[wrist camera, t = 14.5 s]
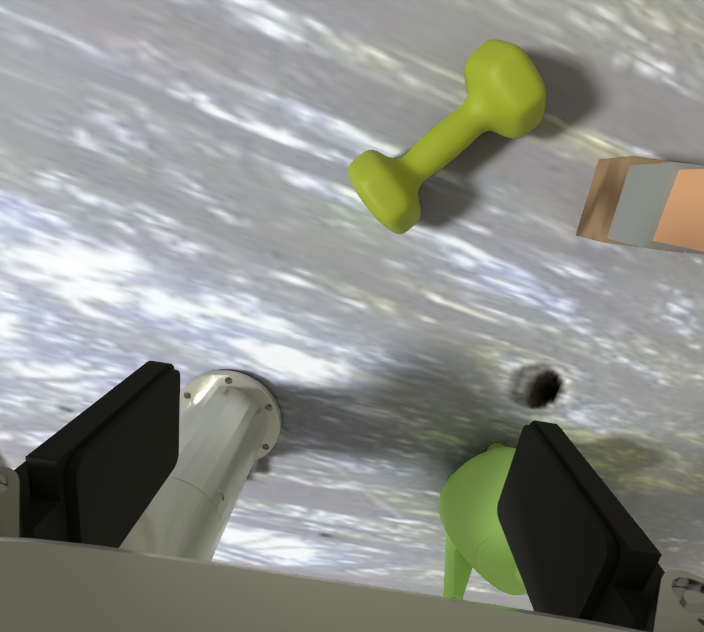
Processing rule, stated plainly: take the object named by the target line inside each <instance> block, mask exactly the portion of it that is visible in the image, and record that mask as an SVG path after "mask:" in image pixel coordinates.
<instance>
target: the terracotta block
mask: <svg viewBox="0 0 704 632" xmlns="http://www.w3.org/2000/svg"><path fill="white" fill-rule="evenodd" d="M653 241H656V242H661V243H665V244H670V245H675V246H679V247H684V248H689V249H693V250H698V251H703V252H704V169H683V170H679V171H678V174H677V177H676V179H675V182H674V185H673V187H672V190H671V193H670V195H669V198H668V201H667V203H666V206H665V209H664V211H663V214H662V217H661V219H660V222H659V225H658V228H657V230H656V233H655V236H654V238H653Z"/></svg>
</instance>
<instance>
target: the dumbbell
mask: <svg viewBox="0 0 704 632" xmlns="http://www.w3.org/2000/svg"><path fill="white" fill-rule="evenodd" d="M464 75H465V84H466V90H467V97H466V100H465V101H464V103H463V104H462V105H461V106H460V107H459V108H458V109H456V110H455V111H454V112H452V113H451V114H450V115H448V116H447V117H446V118H445V119H443V120H442V121H441V122H440V123H438V124H437V125H436V126H435V127H433V128H432V129H431V130H430V131H429V132H428V133H427V134H426V135H424V136H423V137H422V138H421V139H420V140H419V141H418V142H417V143H416V144H415V145H414V146H413V147H412V148H411V149H410V150H409V151H408V152H407V153H406V154H405V155H404V156H402V157H400V158H390V157H387V156H385V155H383V154H381V153H379V152H378V151H374V150H368V151H365V152H364V153H362V154H361V155H359V156H358V157H357V158H356V159H355V160H354V161H353V162H352V163H351V164H350V166H349V168H348V174H349V178H350V181H351V183H352V185H353V187H354V189H355V191H356V192H357V194H358V196H359V197H360V199H361V200H362V201H363V203H364V204H365V206H366V207H367V208H368V209H369V211H370V212H371V213H372V214H373V216H374V217H375V218H376V219H377V220H378V221H379V222H380V223H381V224H383V225H384V226H385V227H386V228H388V229H389V230H390V231H392V232H394V233H397V234H403V233H405V232H407V231H408V230H409V229H410V228H412V227H413V226H414V225H415V224H416V223H417V222H418V220H419V218H420V215H421V207H420V202H419V198H418V191H419V188H420V186H421V185H422V183H423V182H424V181H425V180H427V179H428V178H429V177H431V176H432V175H434V174H435V173H437V172H438V171H439V170H441V169H442V168H443V167H444V166H446V165H447V164H448V163H449V162H451V161H452V160H453V159H454V158H455V157H457V156H458V155H459V154H460V153H461V152H462V151H463V150H464V149H466V148H467V147H468V146H469V145H470V144H471V143H472V142H473V141H474V140H475V139H476V138H477V137H478V136H479V135H480V134H482V133H483V132H486V131H493V132H496V133H498V134H500V135H502V136H504V137H508V138H515V139H517V138H521V137H523V136H525V135H526V134H528V133H529V132H530V131H531V130H533V129H534V128H535V127H536V126H537V125H538V124H539V123H540V122H541V120H542V118H543V115H544V110H545V104H546V89H545V85H544V82H543V80H542V78H541V76H540V74H539V72H538V71H537V69H536V67H535V66H534V64H533V62H532V61H531V59H530V58H529V56H528V55H527V54H526V53H525V52H524V51H523V50H522V49H521V48H520V47H519V46H517V45H515V44H512V43H509V42H505V41H501V40H489V41H487V42H485V43H484V44H482V45H481V46H480V47H479V48H478V49H477V50H476V51H475V52H474V53H473V54H472V55H471V56H470V57H469V58H468V60H467V62H466V65H465V69H464Z"/></svg>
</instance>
